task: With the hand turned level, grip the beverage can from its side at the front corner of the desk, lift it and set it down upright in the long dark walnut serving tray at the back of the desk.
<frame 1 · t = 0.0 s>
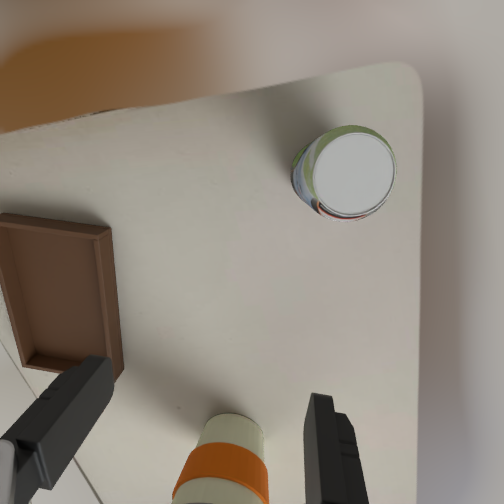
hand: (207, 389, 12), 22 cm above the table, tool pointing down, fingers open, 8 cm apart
beverage can: (325, 165, 29), on the table
reusable coffee cup: (233, 433, 46), on the table
serving tray: (69, 298, 39), on the table
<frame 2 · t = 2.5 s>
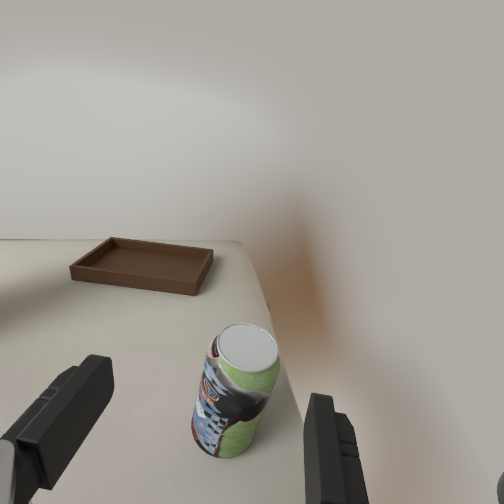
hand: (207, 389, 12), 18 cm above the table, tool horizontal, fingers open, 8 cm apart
beverage can: (229, 436, 29), on the table
serving tray: (149, 269, 57), on the table
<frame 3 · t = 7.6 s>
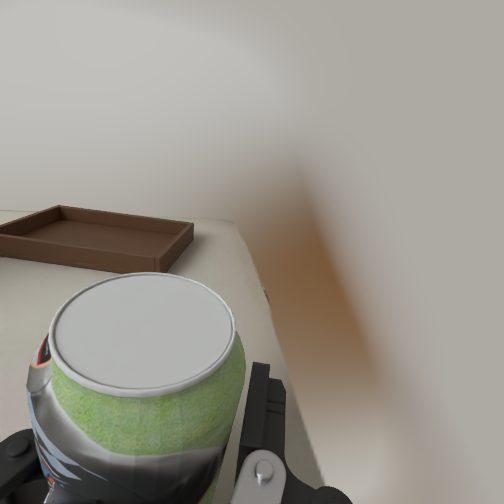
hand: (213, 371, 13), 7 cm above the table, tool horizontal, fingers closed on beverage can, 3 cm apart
serving tray: (102, 245, 41), on the table
when the fingers open (8 cm above the table, at t = 16.9 s): beverage can stays where it is, resting on serving tray.
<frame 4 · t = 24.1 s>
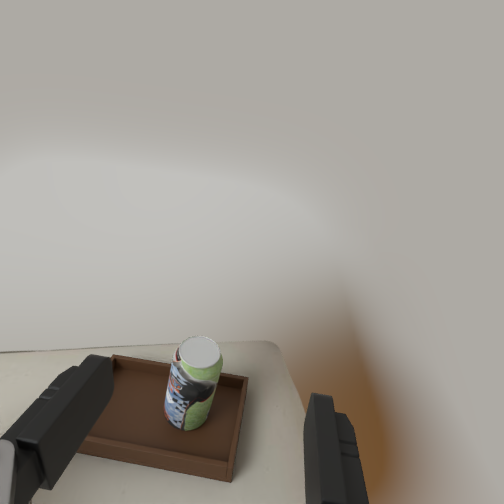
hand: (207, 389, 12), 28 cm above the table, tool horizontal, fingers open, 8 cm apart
beverage can: (191, 417, 41), resting on serving tray
serving tray: (163, 415, 41), on the table
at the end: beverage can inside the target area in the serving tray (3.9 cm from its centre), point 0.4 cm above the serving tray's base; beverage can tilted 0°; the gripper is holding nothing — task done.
